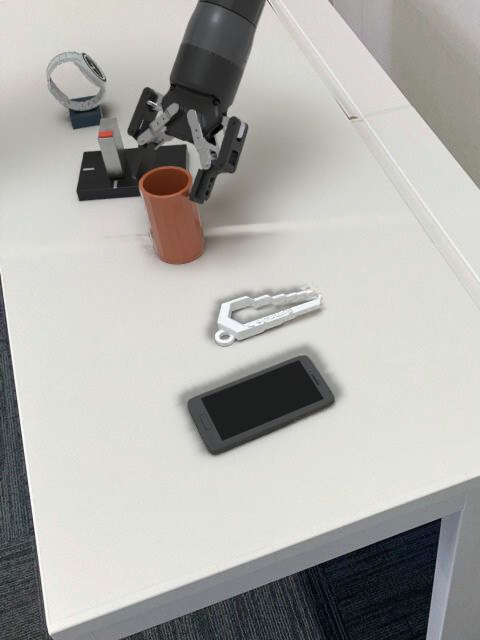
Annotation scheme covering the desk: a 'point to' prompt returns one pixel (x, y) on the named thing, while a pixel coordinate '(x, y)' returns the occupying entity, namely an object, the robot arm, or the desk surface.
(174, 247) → the tumbler
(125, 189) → the hob panel
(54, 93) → the watch
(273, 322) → the white stepped wedge frame
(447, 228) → the desk surface
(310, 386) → the cell phone
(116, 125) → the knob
